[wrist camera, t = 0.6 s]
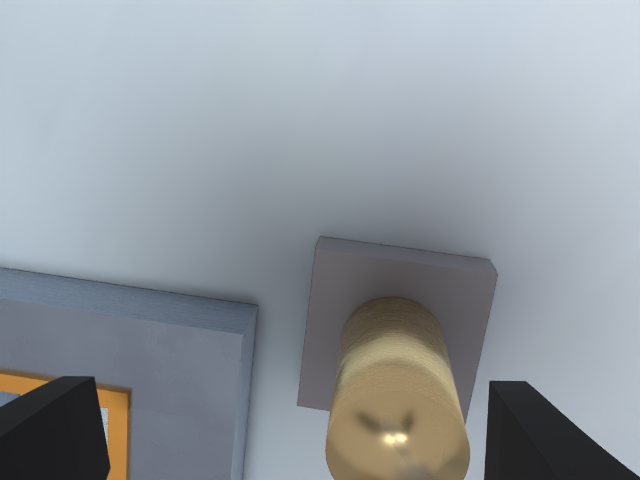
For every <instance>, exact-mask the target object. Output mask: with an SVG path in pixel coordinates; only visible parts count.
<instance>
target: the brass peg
mask: <svg viewBox="0 0 640 480" xmlns="http://www.w3.org/2000/svg"><path fill="white" fill-rule="evenodd" d="M325 452H326V460H327V464H328V467H329V470H330V472H331V475H332V476H333V478H334V480H463V479H464V477H465V475H466V473H467V470H468V467H469V461H470V448H469V442H468V437H467V433H466V429H465V425H464V421H463V416H462V412H461V408H460V404H459V399H458V395H457V391H456V387H455V383H454V378H453V374H452V370H451V366H450V361H449V357H448V353H447V349H446V345H445V340H444V336H443V332H442V329H441V326H440V324H439V322H438V320H437V319H436V318H435V316H434V315H433V314H432V313H431V312H430V311H429V310H428V309H427V308H426V307H425V306H423V305H422V304H420V303H418V302H416V301H414V300H412V299H409V298H405V297H400V296H384V297H379V298H375V299H372V300H370V301H367V302H366V303H364V304H362V305H361V306H359V307H358V308H357V309H356V310H355V311H354V312H353V313H352V314H351V315H350V317H349V318H348V319H347V321H346V323H345V325H344V328H343V331H342V336H341V343H340V350H339V356H338V363H337V370H336V377H335V384H334V391H333V398H332V404H331V411H330V418H329V425H328V432H327V439H326V449H325Z"/></svg>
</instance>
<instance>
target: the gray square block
mask: <svg viewBox="0 0 640 480" xmlns="http://www.w3.org/2000/svg"><path fill="white" fill-rule="evenodd" d="M497 276H498V273H497V272H496V270H495V268H494V266H493V265H492V263H491V261H490V260H488V259H481V258H474V257H466V256H459V255H452V254H445V253H437V252H430V251H423V250H416V249H408V248H401V247H394V246H387V245H380V244H372V243H365V242H358V241H351V240H343V239H336V238H329V237H322V236H320V237H319V240H318V243H317V245H316V248H315V256H314V264H313V273H312V281H311V290H310V298H309V307H308V315H307V324H306V332H305V341H304V349H303V358H302V366H301V375H300V383H299V392H298V401H297V406H301V407H308V408H314V409H320V410H327V411H331V404H332V398H333V391H334V384H335V377H336V370H337V363H338V356H339V350H340V343H341V336H342V331H343V328H344V325H345V323H346V321H347V319H348V318H349V317H350V315H351V314H352V313H353V312H354V311H355V310H356V309H357V308H358V307H359V306H361V305H362V304H364V303H366V302H367V301H370V300H372V299H375V298H379V297H384V296H400V297H405V298H409V299H412V300H414V301H416V302H418V303H420V304H422V305H423V306H425V307H426V308H427V309H428V310H429V311H430V312H431V313H432V314H433V315H434V316H435V318H436V319H437V320H438V322H439V324H440V326H441V329H442V332H443V336H444V340H445V345H446V349H447V353H448V357H449V361H450V366H451V370H452V374H453V378H454V383H455V387H456V391H457V395H458V399H459V404H460V408H461V412H462V416H463V421H464V425H465V424H466V419H467V415H468V410H469V405H470V401H471V396H472V392H473V387H474V382H475V378H476V373H477V368H478V364H479V359H480V355H481V350H482V345H483V341H484V336H485V332H486V327H487V322H488V318H489V313H490V309H491V304H492V299H493V295H494V290H495V286H496V281H497Z"/></svg>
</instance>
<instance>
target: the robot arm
mask: <svg viewBox="0 0 640 480" xmlns="http://www.w3.org/2000/svg"><path fill="white" fill-rule="evenodd" d="M110 469H111V466H110V460H109V455H108V449H107V443H106V438H105V432H104V427H103V421H102V416H101V410H100V405H99V399H98V393H97V388H96V382H95V377H94V376H62V377H60V378H57V379H55V380H52V381H50V382H48V383H46V384H43V385H41V386H39V387H37V388H35V389H33V390H31V391H29V392H27V393H25V394H23V395H22V396H20V397H18V398H16V399H14V400H12V401H10V402H8V403H6V404H5V405H3V406H1V407H0V480H106V479H107V477H108V474H109V472H110ZM484 480H640V477H639V476H637V475H636V474H635V473H633V472H632V471H631V470H629V469H628V468H627V467H626V466H624V465H623V464H622V463H621V462H619V461H618V460H617V459H616V458H614V457H613V456H612V455H610V454H609V453H608V452H607V451H606V450H604V449H603V448H602V447H601V446H599V445H598V444H597V443H596V442H595V441H594V440H592V439H591V438H590V437H589V436H588V435H586V434H585V433H584V432H583V431H582V430H581V429H579V428H578V427H577V426H576V425H575V424H574V423H573V422H571V421H570V420H569V419H568V418H567V417H566V416H565V415H563V414H562V413H561V412H560V411H559V410H558V409H557V408H556V407H554V406H553V405H552V404H551V403H550V402H549V401H548V400H547V399H546V398H544V397H543V396H542V395H541V394H540V393H539V392H538V391H537V390H535V389H534V388H533V387H532V386H531V385H530V384H528V383H527V382H526V381H490V383H489V401H488V419H487V438H486V456H485V474H484Z"/></svg>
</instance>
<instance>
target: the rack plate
mask: <svg viewBox="0 0 640 480" xmlns="http://www.w3.org/2000/svg"><path fill="white" fill-rule="evenodd" d="M257 308H258V305H251V304H244V303H237V302H230V301H224V300H217V299H210V298H203V297H196V296H190V295H183V294H176V293H169V292H162V291H156V290H149V289H142V288H135V287H128V286H121V285H115V284H108V283H101V282H94V281H87V280H81V279H74V278H67V277H60V276H53V275H47V274H40V273H33V272H26V271H19V270H13V269H6V268H0V407H1V406H3V405H5V404H6V403H8V402H10V401H12V400H14V399H16V398H18V397H20V394H22V395H23V394H25V393H27V392H29V391H31V390H33V389H35V388H37V387H39V386H41V385H43V384H46V383H48V382H50V381H52V380H55V379H57V378H60V377H62V376H94V377H95V382H96V388H97V393H98V399H99V405H100V407H103V408H108V455H109V460H110V466H111V469H110V472H109V474H108V477H107V479H106V480H242V475H243V464H244V453H245V442H246V431H247V419H248V408H249V397H250V386H251V375H252V364H253V352H254V341H255V330H256V319H257Z"/></svg>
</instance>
